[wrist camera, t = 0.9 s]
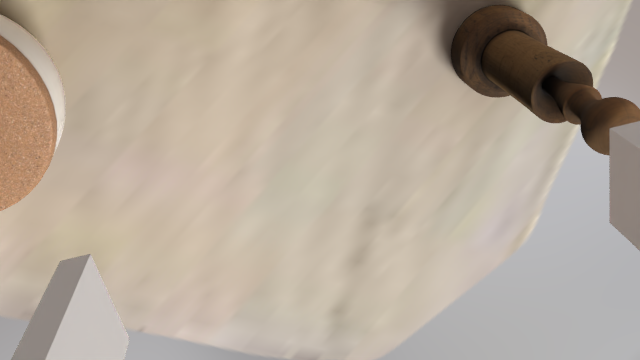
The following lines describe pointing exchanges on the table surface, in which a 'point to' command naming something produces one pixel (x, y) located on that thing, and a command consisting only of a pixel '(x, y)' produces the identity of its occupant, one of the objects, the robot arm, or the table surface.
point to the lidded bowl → (26, 111)
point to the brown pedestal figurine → (534, 74)
